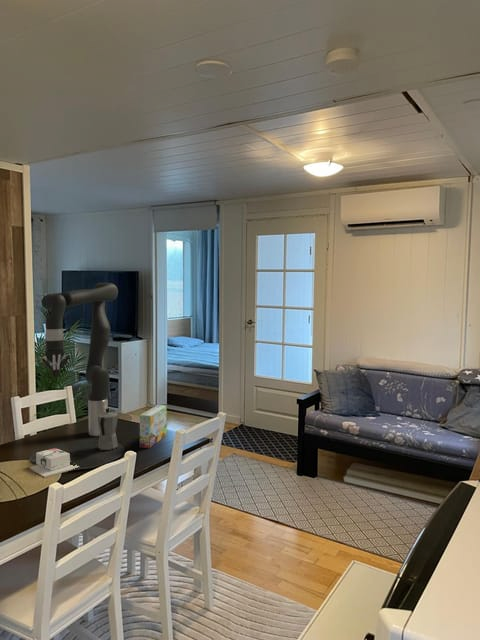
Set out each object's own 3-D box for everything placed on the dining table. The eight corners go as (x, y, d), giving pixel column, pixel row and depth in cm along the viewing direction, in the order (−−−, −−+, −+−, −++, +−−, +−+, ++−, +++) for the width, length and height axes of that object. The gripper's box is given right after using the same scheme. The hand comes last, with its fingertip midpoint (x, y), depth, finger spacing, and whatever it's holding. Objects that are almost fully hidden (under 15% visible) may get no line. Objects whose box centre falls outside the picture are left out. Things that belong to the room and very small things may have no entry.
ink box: (55, 447, 194) (70, 453, 187) (55, 458, 195) (70, 465, 187) (35, 452, 188) (50, 458, 180) (35, 464, 188) (50, 471, 180)
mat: (63, 459, 195) (63, 458, 195) (79, 467, 186) (79, 466, 186) (29, 468, 185) (29, 466, 185) (44, 477, 176) (44, 476, 176)
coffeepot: (102, 443, 217) (101, 404, 216) (122, 443, 217) (121, 405, 216) (91, 454, 202) (90, 413, 201) (112, 454, 202) (112, 413, 201)
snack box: (150, 448, 209) (150, 415, 209) (139, 447, 211) (138, 414, 210) (167, 435, 230) (167, 404, 229) (156, 434, 231) (156, 404, 231)
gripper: (43, 340, 199) (43, 381, 200) (72, 338, 209) (73, 377, 210) (35, 339, 205) (36, 378, 205) (64, 337, 214) (65, 375, 215)
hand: (55, 377), depth 208 cm, fingers closed
